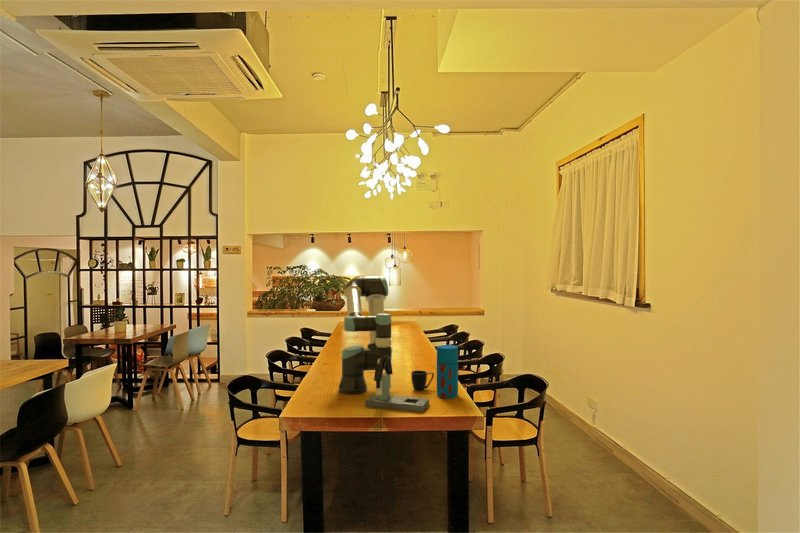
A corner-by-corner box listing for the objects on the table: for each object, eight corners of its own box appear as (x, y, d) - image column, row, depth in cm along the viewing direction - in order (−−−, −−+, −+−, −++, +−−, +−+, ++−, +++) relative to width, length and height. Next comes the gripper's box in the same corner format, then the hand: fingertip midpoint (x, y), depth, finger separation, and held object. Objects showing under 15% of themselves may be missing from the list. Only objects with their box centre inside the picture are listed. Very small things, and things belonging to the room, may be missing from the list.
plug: (377, 405, 215) (377, 374, 215) (380, 402, 219) (380, 372, 219) (386, 406, 213) (386, 375, 213) (389, 403, 218) (389, 372, 218)
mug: (435, 391, 239) (435, 373, 239) (412, 392, 238) (412, 374, 238) (432, 387, 247) (432, 370, 247) (410, 388, 246) (410, 370, 246)
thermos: (444, 391, 239) (444, 344, 239) (462, 395, 232) (461, 346, 232) (432, 396, 230) (432, 347, 230) (450, 400, 223) (450, 349, 223)
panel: (365, 406, 213) (365, 399, 213) (374, 399, 224) (374, 393, 224) (422, 412, 204) (422, 405, 204) (429, 404, 215) (429, 398, 215)
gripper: (382, 350, 204) (382, 398, 204) (398, 342, 227) (398, 385, 227) (366, 350, 206) (366, 397, 206) (384, 341, 229) (384, 384, 229)
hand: (383, 391), depth 216 cm, fingers open, 12 cm apart
